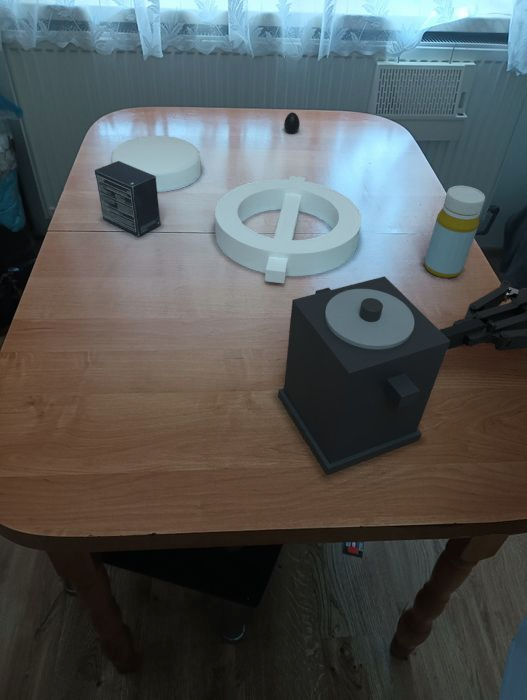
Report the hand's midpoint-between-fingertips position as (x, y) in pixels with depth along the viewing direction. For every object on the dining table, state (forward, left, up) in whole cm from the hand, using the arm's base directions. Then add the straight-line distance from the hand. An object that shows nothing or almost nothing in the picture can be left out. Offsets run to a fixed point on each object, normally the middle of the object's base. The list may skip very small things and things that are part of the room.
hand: (439, 341), depth 71 cm
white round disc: (+80, +16, -10) cm, 82 cm away
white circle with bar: (+45, 0, -10) cm, 46 cm away
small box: (+60, +27, -10) cm, 66 cm away
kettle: (0, +13, -10) cm, 16 cm away
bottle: (+24, -22, -10) cm, 34 cm away
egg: (+91, -24, -10) cm, 95 cm away
